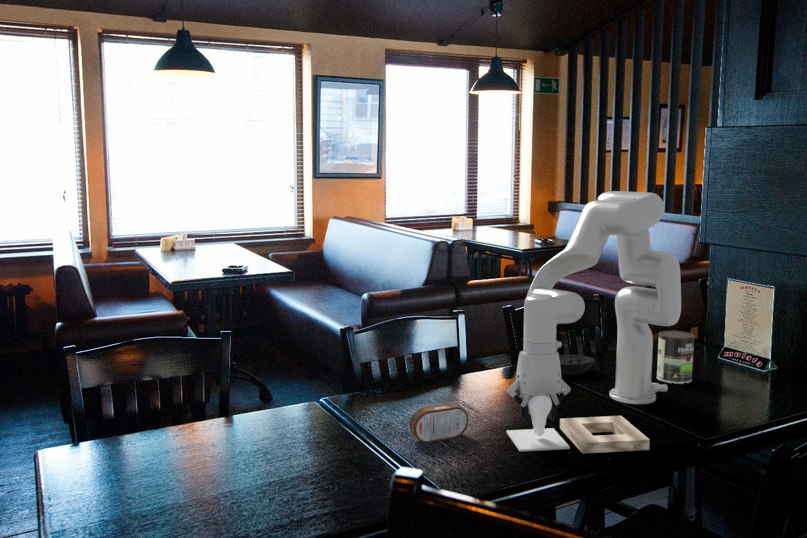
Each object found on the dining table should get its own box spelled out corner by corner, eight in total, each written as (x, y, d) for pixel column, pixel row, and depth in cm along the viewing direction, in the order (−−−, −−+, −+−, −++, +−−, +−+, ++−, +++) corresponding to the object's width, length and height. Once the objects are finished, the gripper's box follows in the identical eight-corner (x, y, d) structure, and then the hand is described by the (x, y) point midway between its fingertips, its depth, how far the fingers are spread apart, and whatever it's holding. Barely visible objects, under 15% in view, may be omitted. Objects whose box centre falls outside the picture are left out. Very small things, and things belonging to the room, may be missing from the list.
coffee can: (699, 381, 222) (702, 335, 220) (675, 386, 217) (677, 339, 215) (673, 372, 231) (675, 328, 229) (649, 377, 226) (651, 332, 224)
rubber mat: (553, 430, 183) (553, 428, 183) (569, 448, 171) (569, 446, 171) (506, 432, 182) (506, 430, 181) (519, 451, 170) (519, 449, 170)
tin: (464, 432, 182) (464, 399, 181) (470, 436, 179) (470, 403, 178) (408, 442, 176) (408, 408, 175) (414, 446, 173) (414, 412, 172)
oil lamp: (525, 373, 231) (525, 358, 230) (569, 363, 242) (569, 348, 241) (559, 385, 219) (560, 369, 218) (604, 374, 230) (605, 359, 229)
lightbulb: (550, 430, 179) (550, 387, 177) (553, 440, 173) (553, 395, 171) (525, 430, 180) (525, 387, 178) (527, 440, 174) (526, 395, 172)
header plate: (620, 425, 186) (621, 415, 186) (649, 449, 170) (649, 439, 170) (559, 428, 184) (560, 418, 184) (582, 453, 168) (583, 443, 168)
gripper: (569, 341, 178) (567, 413, 180) (499, 344, 176) (499, 416, 178) (580, 349, 170) (578, 424, 173) (508, 352, 168) (507, 427, 171)
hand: (538, 419), depth 176 cm, fingers closed on lightbulb, 6 cm apart
